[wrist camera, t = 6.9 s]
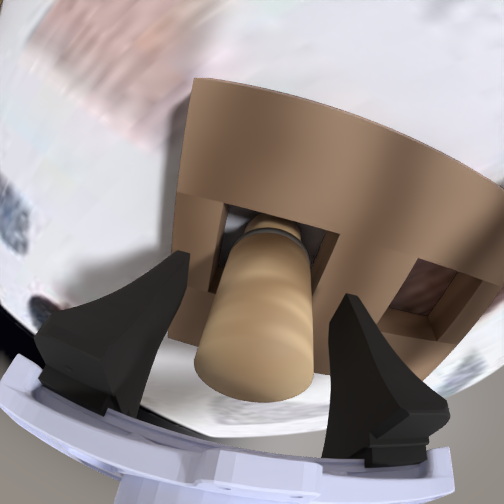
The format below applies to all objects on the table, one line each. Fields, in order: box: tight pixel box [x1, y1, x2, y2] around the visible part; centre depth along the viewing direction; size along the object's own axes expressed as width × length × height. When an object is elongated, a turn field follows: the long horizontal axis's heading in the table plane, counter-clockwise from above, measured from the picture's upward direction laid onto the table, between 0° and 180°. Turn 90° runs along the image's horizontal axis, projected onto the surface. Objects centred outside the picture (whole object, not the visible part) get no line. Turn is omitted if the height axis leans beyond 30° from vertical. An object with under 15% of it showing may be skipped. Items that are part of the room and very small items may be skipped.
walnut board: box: [168, 78, 504, 381], centre depth 16 cm, size 20×16×2 cm
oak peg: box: [194, 213, 314, 403], centre depth 13 cm, size 4×4×9 cm
